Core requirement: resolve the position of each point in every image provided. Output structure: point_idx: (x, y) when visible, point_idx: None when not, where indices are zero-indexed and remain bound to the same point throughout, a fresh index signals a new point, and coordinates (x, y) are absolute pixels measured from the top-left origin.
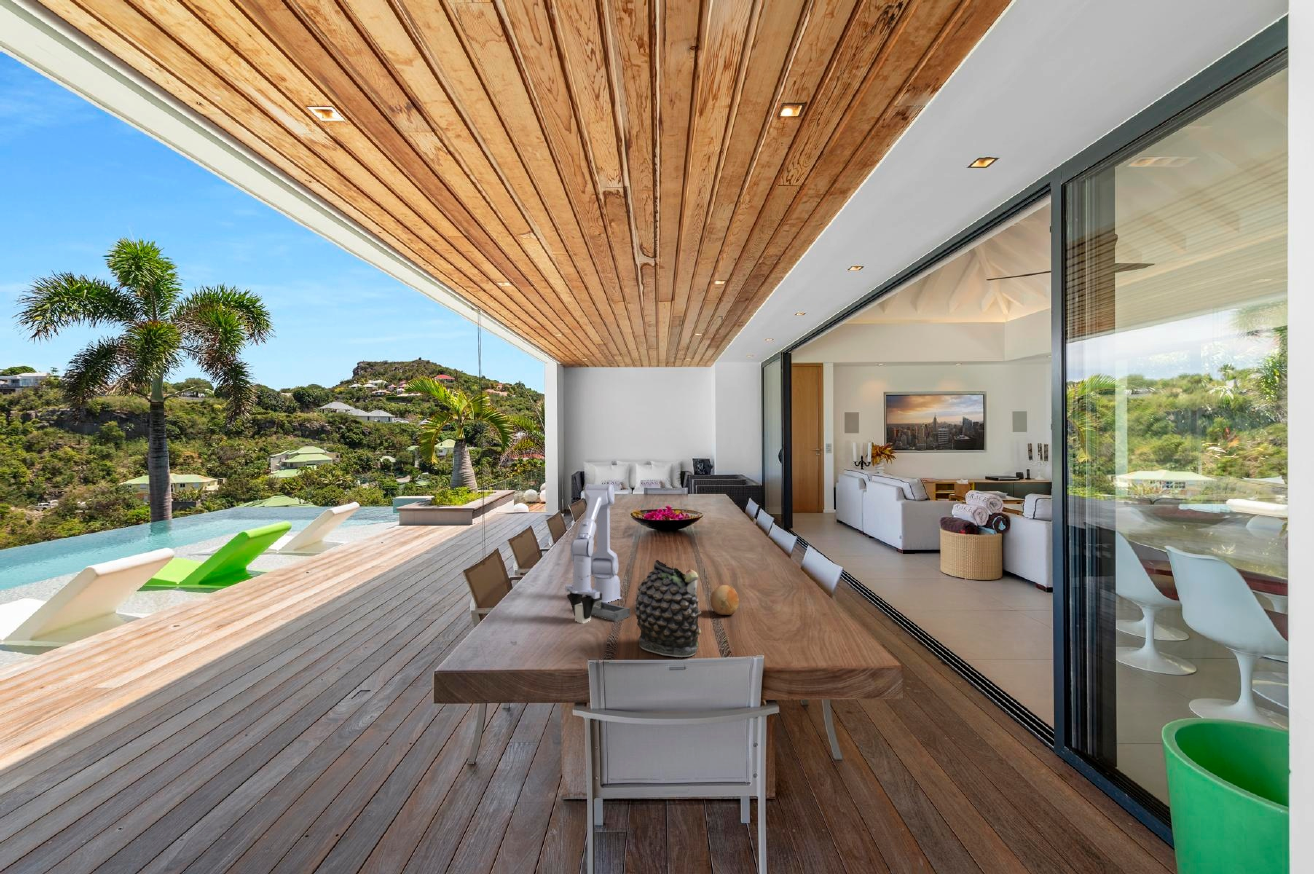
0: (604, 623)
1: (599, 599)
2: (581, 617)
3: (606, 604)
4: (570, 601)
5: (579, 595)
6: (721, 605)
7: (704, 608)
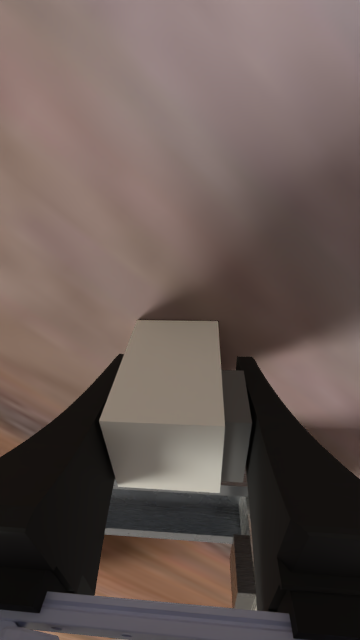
0: (53, 391)
1: (231, 557)
2: (139, 345)
3: (207, 530)
4: (311, 452)
5: (262, 574)
6: None
7: None
